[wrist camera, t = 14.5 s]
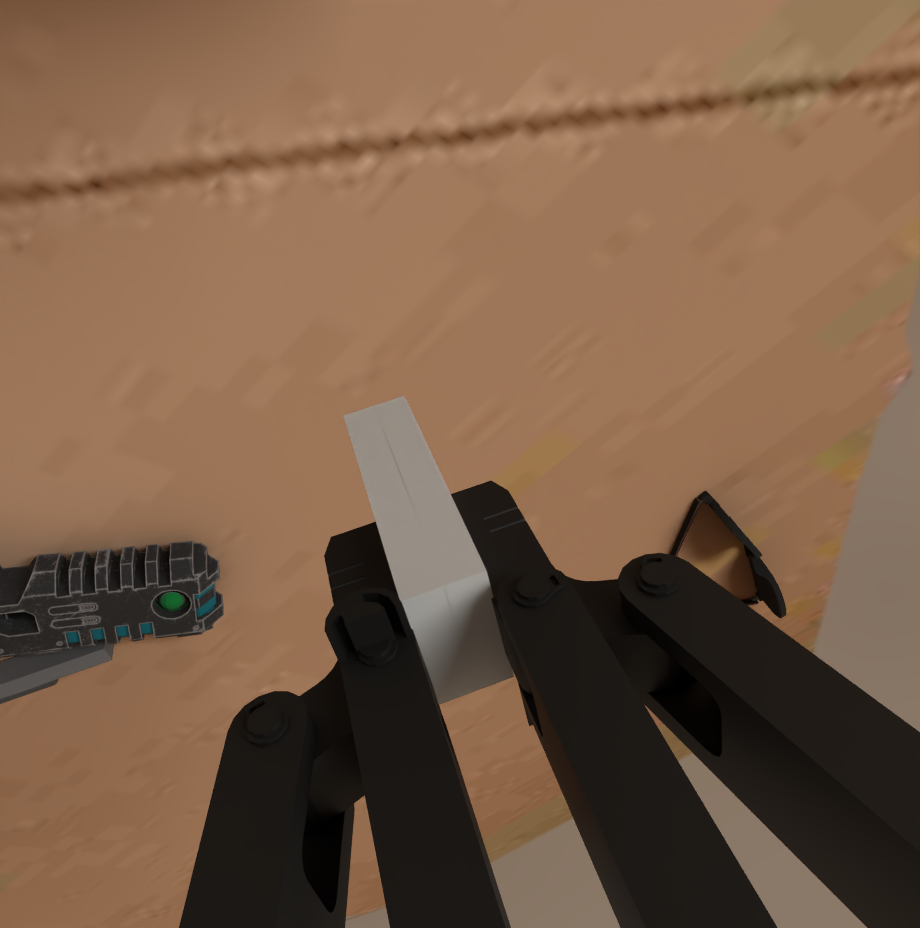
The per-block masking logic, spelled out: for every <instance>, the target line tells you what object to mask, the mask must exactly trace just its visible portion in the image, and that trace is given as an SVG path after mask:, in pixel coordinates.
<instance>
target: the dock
mask: <svg viewBox="0 0 920 928" xmlns="http://www.w3.org/2000/svg"><path fill="white" fill-rule="evenodd" d="M113 649H114V644H106V640H105V639H102V640H97V641H96V646H90V647H82V646H81V642H77V643H72V647H71V649H66V650H63V651H62V652H54V653H46V654H38V655H37V654H35V653H33V654H25V655H18V656H15V657H12V658H9V659H6V660H3V661H0V704H1V703H4V702H7V701H10V700H13V699H15V698H18V697H21V696H24V695H27V694H30V693H33V692H35V691H38V690H41V689H44V688H47V687H50V686H53V685H55V684H56V683H57V682H58V678H61V677H64V676H67V675H70V674H73V673H76V672H78V671H81V670H84V669H87V668H90V667H93V666H96V665H98V664H101V663H104V662H107V661H110V660H112V655H113Z"/></svg>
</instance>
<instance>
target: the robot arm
mask: <svg viewBox="0 0 920 928" xmlns="http://www.w3.org/2000/svg"><path fill="white" fill-rule="evenodd" d="M344 419H345V422H346V425H347V429H348V432H349V435H350V439H351V442H352V445H353V448H354V452H355V455H356V458H357V462H358V465H359V468H360V471H361V475H362V478H363V481H364V485H365V488H366V491H367V494H368V498H369V501H370V504H371V508H372V511H373V514H374V517H375V521H376V522H374V523H371V524H368V525H365V526H362V527H359V528H356V529H353V530H350V531H347V532H344V533H342V534H339V535H336V536H333V537H331V538H330V541H329V544H328V547H327V550H326V552H325V555H324V557H325V562H326V567H327V572H328V576H329V583H330V588H331V593H332V598H333V603H334V606H333V607H332V609H331V610H330V612H329V614H328V616H327V618H326V621H325V632H326V634H327V637H328V639H329V641H330V643H331V645H332V648H333V650H334V652H335V654H336V656H337V659H338V661H337V662H336V664H335V666H334V668H333V669H332V670H331V671H330V673H329V674H328V675H327V676H326V677H325V678H324V679H323V680H322V681H320V682H319V683H318V684H317V685H315V686H314V687H312V688H311V689H309V690H308V691H307V692H305V693H304V694H302V695H301V696H297V695H295V694H293V693H291V692H288V691H274V692H271V693H268V694H265V695H262V696H259V697H257V698H256V699H254V700H253V701H251V702H250V703H248V704H247V705H245V706H244V707H243V708H242V709H241V711H240V712H239V713H238V714H237V715H236V716H235V717H234V719H233V721H232V723H231V726H230V728H229V730H228V733H227V737H226V741H225V745H224V749H223V753H222V757H221V761H220V765H219V769H218V773H217V777H216V781H215V785H214V789H213V793H212V797H211V801H210V805H209V809H208V813H207V817H206V821H205V825H204V829H203V833H202V837H201V841H200V845H199V849H198V853H197V857H196V861H195V865H194V869H193V873H192V877H191V882H190V886H189V890H188V894H187V898H186V902H185V906H184V910H183V914H182V918H181V922H180V926H179V928H345V920H346V908H347V895H348V883H349V871H350V858H351V846H352V834H353V821H354V809H355V808H354V803H355V802H356V801H358V800H359V799H360V798H361V797H363V796H364V795H365V798H366V804H367V809H368V814H369V819H370V825H371V830H372V835H373V840H374V846H375V851H376V856H377V861H378V866H379V872H380V877H381V882H382V887H383V893H384V898H385V903H386V908H387V914H388V919H389V924H390V928H511V927H510V924H509V920H508V917H507V914H506V911H505V908H504V905H503V902H502V899H501V895H500V892H499V889H498V886H497V883H496V880H495V877H494V874H493V870H492V867H491V864H490V861H489V858H488V855H487V852H486V848H485V845H484V842H483V839H482V836H481V833H480V830H479V827H478V823H477V820H476V817H475V814H474V811H473V808H472V805H471V802H470V798H469V795H468V792H467V789H466V786H465V783H464V780H463V777H462V773H461V770H460V767H459V764H458V761H457V758H456V755H455V752H454V748H453V745H452V742H451V739H450V736H449V733H448V730H447V727H446V724H445V721H444V718H443V716H442V713H441V710H440V707H439V704H442V703H444V702H447V701H450V700H453V699H455V698H458V697H461V696H463V695H466V694H469V693H471V692H474V691H477V690H479V689H482V688H485V687H487V686H490V685H493V684H495V683H498V682H501V681H503V680H506V679H509V678H511V677H514V675H513V672H514V674H515V676H516V678H517V681H518V684H519V688H520V692H521V696H522V700H523V704H524V708H525V711H526V715H527V719H528V723H529V726H531V725H533V726H534V728H535V730H536V732H537V735H538V737H539V739H540V742H541V744H542V746H543V749H544V751H545V753H546V756H547V758H548V760H549V763H550V765H551V767H552V770H553V772H554V774H555V777H556V779H557V781H558V784H559V786H560V788H561V791H562V793H563V795H564V797H565V800H566V802H567V804H568V807H569V809H570V811H571V814H572V816H573V818H574V821H575V823H576V825H577V828H578V830H579V832H580V835H581V837H582V839H583V841H584V844H585V846H586V849H587V851H588V853H589V856H590V858H591V860H592V862H593V865H594V867H595V869H596V872H597V874H598V876H599V879H600V881H601V883H602V885H603V888H604V890H605V892H606V895H607V897H608V900H609V902H610V904H611V906H612V909H613V911H614V914H615V916H616V918H617V920H618V923H619V925H620V927H621V928H777V926H776V924H775V923H774V921H773V919H772V918H771V916H770V914H769V913H768V911H767V910H766V908H765V906H764V905H763V903H762V901H761V899H760V898H759V896H758V894H757V893H756V891H755V889H754V888H753V886H752V884H751V883H750V881H749V879H748V878H747V876H746V874H745V873H744V871H743V870H742V868H741V866H740V864H739V863H738V861H737V859H736V858H735V856H734V854H733V853H732V851H731V849H730V848H729V846H728V844H727V843H726V841H725V839H724V837H723V836H722V834H721V832H720V831H719V829H718V828H717V826H716V824H715V823H714V821H713V819H712V817H711V816H710V815H709V812H708V811H707V809H706V808H705V806H704V804H703V802H702V801H701V799H700V797H699V796H698V794H697V792H696V791H695V789H694V787H693V786H692V784H691V782H690V781H689V779H688V777H687V776H686V774H685V772H684V771H683V769H682V767H681V766H680V764H679V762H678V761H677V759H676V757H675V756H674V754H673V752H672V751H671V749H670V747H669V745H668V744H667V742H666V740H665V739H664V737H663V735H662V734H661V732H660V730H659V729H658V727H657V725H656V724H655V722H654V720H653V719H652V717H651V715H650V714H649V712H648V710H647V709H646V707H645V705H646V706H647V707H648V708H649V709H650V710H651V711H652V712H653V713H654V714H655V715H656V716H657V717H658V718H659V719H660V720H661V721H662V722H663V723H664V724H665V725H666V726H667V727H668V728H669V729H670V730H671V731H672V732H673V733H674V734H675V735H676V736H677V737H678V738H679V739H680V740H681V741H682V742H683V743H684V744H685V745H686V746H687V747H688V748H689V749H690V750H691V751H692V752H693V754H694V755H695V756H697V758H699V759H700V760H701V762H703V764H704V765H705V766H707V767H708V769H709V770H711V771H712V772H713V774H715V776H716V777H717V778H719V779H720V780H721V782H723V784H724V785H725V786H726V787H728V788H729V789H730V791H732V792H733V793H734V794H735V796H736V797H737V798H738V799H740V801H741V802H742V803H744V805H746V807H747V808H748V809H749V810H751V812H752V813H753V814H754V815H756V817H757V818H759V819H760V821H762V823H763V824H764V825H766V826H767V828H768V829H769V830H770V831H771V832H772V833H773V834H774V835H775V836H776V837H777V838H778V839H779V840H781V841H782V843H784V845H785V846H786V847H788V849H789V850H791V852H792V853H793V854H794V855H795V856H796V857H797V858H798V859H799V860H800V861H801V862H802V863H803V864H805V866H806V867H807V868H808V869H809V870H810V871H811V872H812V873H813V874H814V875H816V876H817V878H818V879H819V880H821V882H823V884H824V885H826V887H827V888H828V889H830V891H832V893H833V894H834V895H836V896H837V897H838V899H840V901H841V902H843V903H844V905H845V906H846V907H847V908H848V909H850V911H851V912H853V914H854V915H855V916H856V917H857V918H858V919H859V920H860V921H861V922H862V923H863V924H864V925H865V926H867V928H920V732H919V731H917V730H916V729H915V728H913V727H912V726H911V725H909V724H908V723H906V722H905V721H904V720H902V719H901V718H900V717H898V716H897V715H895V714H894V713H893V712H892V711H890V710H889V709H887V708H886V707H885V706H883V705H882V704H881V703H879V702H877V700H875V699H874V698H872V697H871V696H870V695H868V694H867V693H866V692H864V691H863V690H862V689H860V688H859V687H858V686H856V685H855V684H853V683H852V682H851V681H849V680H848V679H847V678H845V677H844V676H843V675H841V674H839V673H838V672H837V671H836V670H834V669H833V668H832V667H830V666H829V665H828V664H826V663H825V662H823V661H822V660H821V659H819V658H818V657H817V656H815V655H814V654H813V653H811V652H810V651H809V650H807V649H806V648H804V647H803V646H802V645H800V644H799V643H798V642H796V641H795V640H794V639H792V638H791V637H789V636H788V635H787V634H785V633H784V632H783V631H781V630H780V629H779V628H777V627H776V626H774V625H773V624H772V623H770V622H769V621H768V620H766V619H765V618H764V617H762V616H761V615H760V614H758V613H757V612H755V611H754V610H753V609H751V608H750V607H749V606H747V605H746V604H745V603H743V602H742V601H740V600H739V599H738V598H736V597H735V596H734V595H732V594H731V593H730V592H728V591H727V590H725V589H724V588H723V587H721V586H720V585H719V584H717V583H716V582H715V581H713V580H712V579H711V578H709V577H708V576H706V575H705V574H704V573H702V572H701V571H700V570H698V569H697V568H696V567H694V566H693V565H691V564H690V563H689V562H687V561H685V560H683V559H681V558H679V557H677V556H675V555H669V554H663V553H656V554H645V555H643V556H640V557H638V558H635V559H633V560H631V561H630V562H629V563H628V564H627V565H626V566H624V567H623V568H622V571H621V573H620V575H619V577H618V579H615V580H604V581H581V580H575V579H572V578H570V577H567V576H565V575H564V574H563V573H562V572H561V571H559V570H556V569H555V568H554V566H553V565H552V564H551V563H550V561H549V559H548V557H547V556H546V554H545V552H544V551H543V549H542V547H541V546H540V544H539V542H538V540H537V539H536V537H535V535H534V534H533V532H532V530H531V529H530V527H529V525H528V523H527V522H526V521H525V519H524V517H523V515H522V513H521V512H520V510H519V509H518V507H517V505H516V503H515V501H514V500H513V498H512V496H511V495H510V493H509V491H508V490H506V489H505V488H503V487H501V486H499V485H498V484H496V483H494V482H493V481H488V482H486V483H483V484H480V485H477V486H474V487H471V488H468V489H465V490H462V491H459V492H456V493H453V494H450V492H449V490H448V488H447V485H446V483H445V481H444V479H443V477H442V475H441V473H440V470H439V468H438V466H437V464H436V462H435V460H434V458H433V456H432V453H431V451H430V449H429V447H428V445H427V443H426V441H425V439H424V436H423V434H422V432H421V430H420V428H419V426H418V424H417V421H416V419H415V417H414V415H413V413H412V411H411V409H410V407H409V404H408V402H407V400H406V398H405V396H402V397H399V398H396V399H393V400H390V401H387V402H384V403H381V404H377V405H374V406H371V407H368V408H365V409H362V410H359V411H356V412H353V413H350V414H347V415H344ZM512 669H513V671H512ZM643 703H644V704H645V705H644V704H643Z"/></svg>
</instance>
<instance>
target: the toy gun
mask: <svg viewBox="0 0 920 928" xmlns="http://www.w3.org/2000/svg"><path fill="white" fill-rule="evenodd" d="M219 579H220V572H219V561H218V560H216V559H215V558H213V557H211V556H209V555H208V554H207V546H205V545H204V544H202V543H194V542H193V541H187V542H176V543H170V550H162V551H161V547H160V545H159V544H154V545H147V547H146V552H141V553H138V549H137V548H136V547H135V546H132V547H122V554H119V555H114V551H113V550H111V549H99V550H98V552H97V557H90V554H89V553H88V552H86V551H77V552H73V553H72V558H71V559H66V557H65V556H64V555H62V554H61V553H56V554H45V555H37V556H36V557H35V558H34V559H33V561H32V562H31V564H30V566H22V567H12V568H2V567H1V565H0V658H1V657H9V656H17V655H25V654H33V653H35V654H37V655H38V654H46V653H54V652H62V651H63V650H66V649H71V647H72V643H77V642H81V646H82V647H90V646H96V641H97V640H102V639H105V640H106V644H114V643H120V638H121V637H126V636H130V640H131V641H138V640H144V634H151V633H154V638H162V637H171V636H177V637H182V636H191V635H199V634H202V633H203V632H205V631H207V630H209V629H212V628H213V624H214V623H215V622H216V621H217V620H218V619H219V618H221V617H222V616H223V615H224V611H223V598H222V594H220V593H219V592H217V591H215V582H216V581H217V580H219Z"/></svg>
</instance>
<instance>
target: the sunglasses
mask: <svg viewBox="0 0 920 928" xmlns="http://www.w3.org/2000/svg"><path fill="white" fill-rule="evenodd" d="M700 497H701V498H702V499H701V500H699V499H698V498H696V499H695V501H694V503H693V505H692V507H691V509H690V512H689V514H688V516H687V518H686V520H685V522H684V524H683V527H682V529H681V531H680V533H679V536H678V538H677V540H676V543H675V545H674V548H673V550H672V552H671V555H675V556H677V555H678V552H679V550H680V548H681V545H682V543H683V541H684V539H685V537H686V534H687V532H688V530H689V528H690V526H691V524H692V521H693V519H694V517H695V515H696V513H697V511H698V509H699V506H700V504H702V503H703V502H705V503H706V504H709V505H710V507H711V508H712V509H713V510H714V511H715V513H716V514H717V515H718V516H719V517H720V519H721V520H722V521H723V522H724V523H725V525H726V526H727V527H728V528H729V529H730V530H731V532H732V533H733V534H734V535H735V536H736V537H737V538H738V539H739V540H740V541H741V542H742V543H743V544H744V547H745V552H746V555H747V557H748V558H749V562H750V565H751V569H752V573H753V577H754V581H755V586H756V589H757V592H756V596H757V597H755V598H752V599H746V600H740V601H742V602H743V603H745V604H746V605H753V604H758V601H757V600H758V599H759V601H762V600H763V601H764V602H765V603H766V605H767V606H768V607H769V608H770V610H771V611H772V612H773V613H774V614H775V615H776V616H778V617H779V618H782V617H784V616H785V615H786V607H785V602H784V599H783V596H782V593H781V591H780V588H779V586H778V584H777V582H776V581H775V579H774V577H773V575H772V574H771V573H770V571H769V570H768V568H767V567H766V565H765V564H764V563H763V561H762V560H761V559H760V556H762V554H761V553H760V551H759V550H758V549H757V548H756V547H755V546H754V545H753V543H752V542H751V541H750V540H749V538H748V537H746V536H745V534H744V533H743V532H742V531H741V530H740V528H739V527H738V526H737V525H736V523H735V522H734V521H733V520H732V519H731V518H730V516H728V515H727V514H726V513H725V512H724V510H723V509H722V508H721V507H720V505H719V504H718V503H717V502H716V500H715V499H714V498H713V497H712V496H711V495H710V494H709V493H708V492H707V491H705V492H704V493H703V494H701V495H700Z"/></svg>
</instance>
